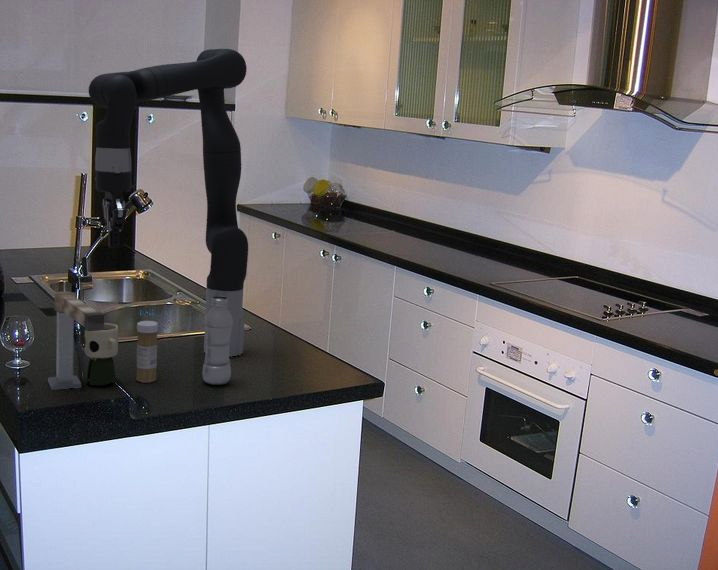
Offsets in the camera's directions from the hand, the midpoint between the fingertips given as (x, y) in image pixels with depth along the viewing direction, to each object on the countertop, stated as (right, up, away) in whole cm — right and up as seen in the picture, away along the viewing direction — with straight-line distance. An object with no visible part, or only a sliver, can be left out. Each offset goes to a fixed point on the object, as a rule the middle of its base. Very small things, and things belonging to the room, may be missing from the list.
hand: (114, 247), depth 192 cm
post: (-10, -30, -3) cm, 32 cm away
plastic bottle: (+22, -31, +6) cm, 38 cm away
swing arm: (-4, -15, -13) cm, 20 cm away
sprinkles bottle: (+6, -30, +4) cm, 31 cm away
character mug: (-3, -30, 0) cm, 30 cm away
